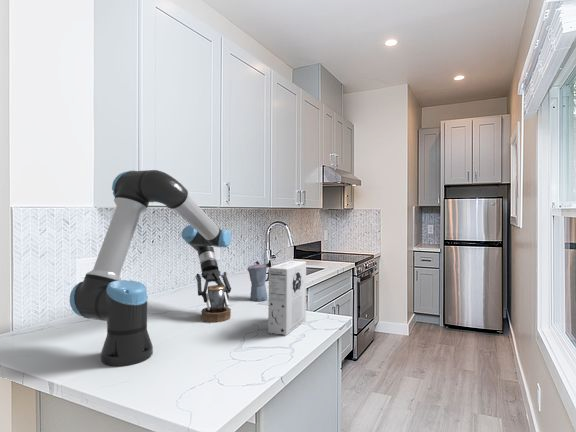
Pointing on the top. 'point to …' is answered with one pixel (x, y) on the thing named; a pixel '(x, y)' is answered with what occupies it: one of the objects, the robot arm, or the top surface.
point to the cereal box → (287, 296)
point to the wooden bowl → (215, 315)
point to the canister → (216, 298)
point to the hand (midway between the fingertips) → (218, 307)
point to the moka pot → (258, 281)
